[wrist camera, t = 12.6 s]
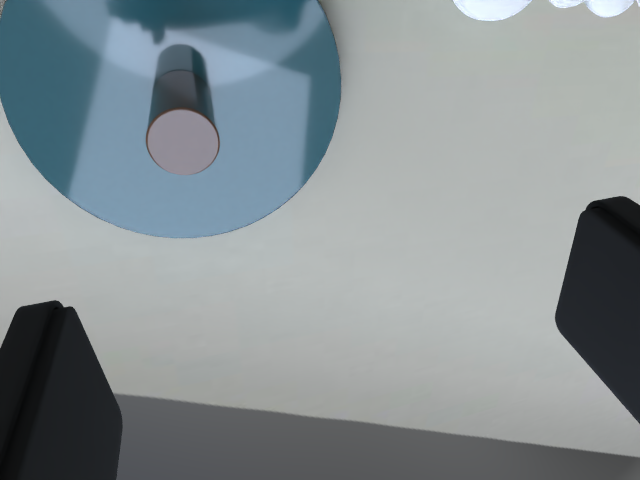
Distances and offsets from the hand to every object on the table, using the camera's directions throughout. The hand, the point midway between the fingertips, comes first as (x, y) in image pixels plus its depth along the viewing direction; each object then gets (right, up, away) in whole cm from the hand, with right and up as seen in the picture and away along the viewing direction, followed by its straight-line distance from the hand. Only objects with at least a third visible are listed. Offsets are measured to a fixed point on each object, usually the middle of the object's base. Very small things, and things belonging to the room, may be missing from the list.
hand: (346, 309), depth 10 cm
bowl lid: (-7, +8, +13) cm, 17 cm away
